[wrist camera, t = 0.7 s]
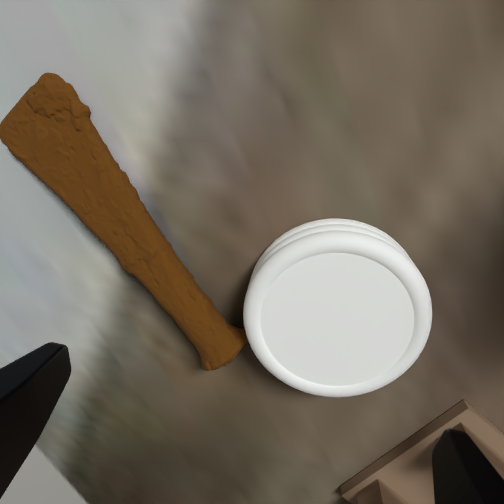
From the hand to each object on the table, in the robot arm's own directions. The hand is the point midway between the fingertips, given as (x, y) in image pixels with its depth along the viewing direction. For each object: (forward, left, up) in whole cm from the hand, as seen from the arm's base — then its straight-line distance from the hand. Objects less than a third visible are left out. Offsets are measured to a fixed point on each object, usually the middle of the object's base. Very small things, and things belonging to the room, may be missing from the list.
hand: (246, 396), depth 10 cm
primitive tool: (-6, +6, -15) cm, 18 cm away
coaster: (-1, -5, -15) cm, 16 cm away
